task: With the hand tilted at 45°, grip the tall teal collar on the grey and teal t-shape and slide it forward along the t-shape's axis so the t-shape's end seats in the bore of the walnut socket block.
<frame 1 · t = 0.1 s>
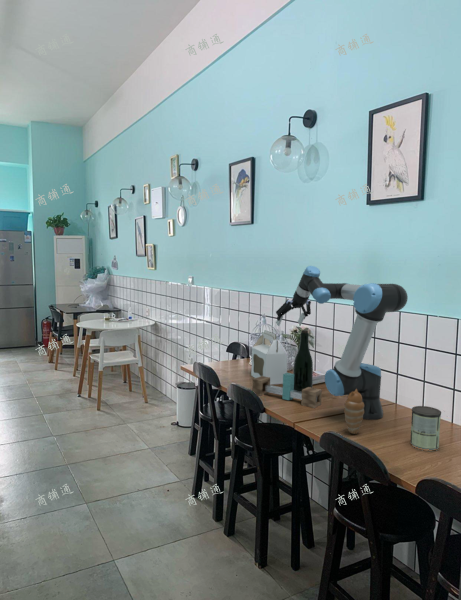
hand: (288, 323, 247), 36 cm above the table, tool tilted 35°, fingers open, 13 cm apart
gable box: (268, 379, 270), on the table
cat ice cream: (352, 434, 188), on the table
beer bottle: (302, 391, 247), on the table
grey and teal t-shape: (290, 386, 230), point 7 cm above the table, slide at 0.0 cm
socket block: (261, 393, 241), on the table
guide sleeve: (311, 404, 224), on the table
coffee can: (424, 446, 177), on the table
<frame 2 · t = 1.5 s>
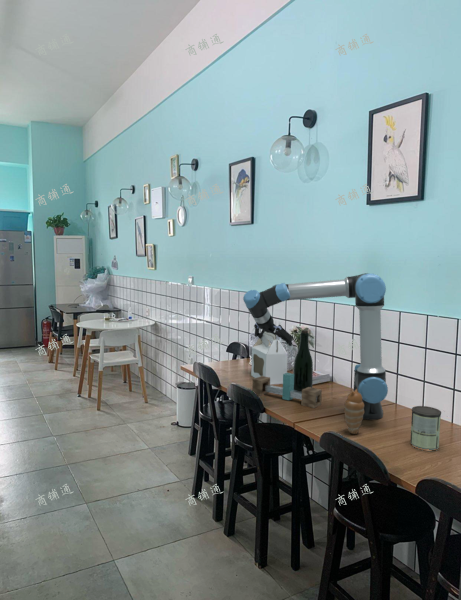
hand: (279, 347, 222), 28 cm above the table, tool tilted 45°, fingers open, 13 cm apart
nothing on the table moved.
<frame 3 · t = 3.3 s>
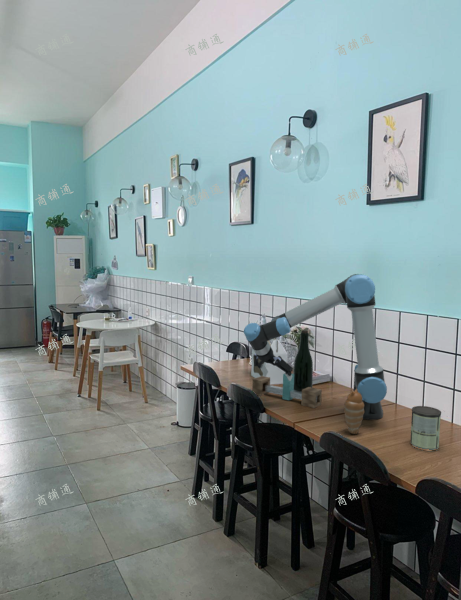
hand: (278, 376, 224), 13 cm above the table, tool tilted 45°, fingers open, 13 cm apart
nothing on the table moved.
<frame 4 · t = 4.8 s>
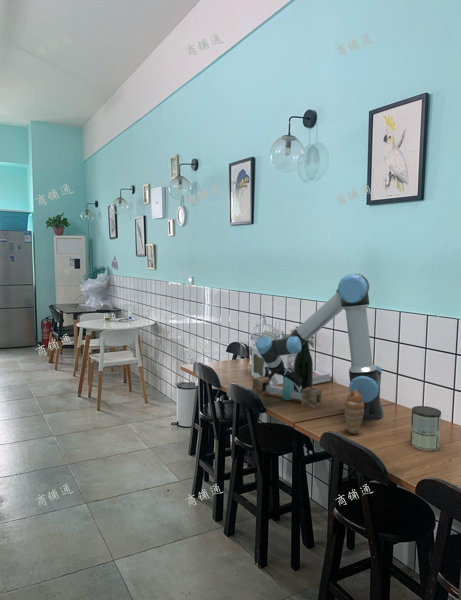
hand: (288, 386, 232), 6 cm above the table, tool tilted 45°, fingers open, 13 cm apart
grey and teal t-shape: (290, 386, 230), point 7 cm above the table, slide at 0.0 cm, touching gripper
everything else where it was.
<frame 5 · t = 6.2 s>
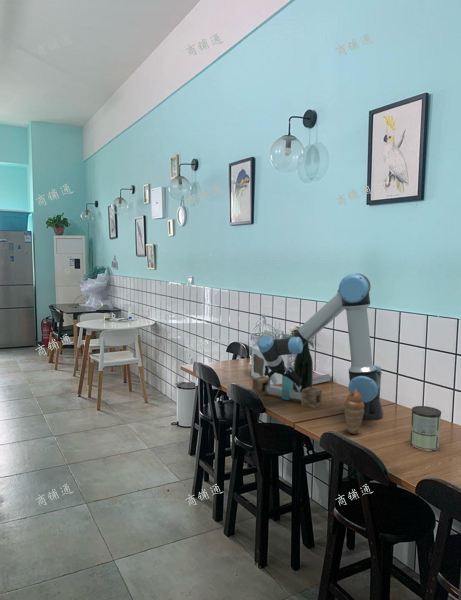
hand: (287, 386, 233), 6 cm above the table, tool tilted 45°, fingers open, 13 cm apart
grey and teal t-shape: (290, 386, 231), point 7 cm above the table, slide at 0.5 cm, touching gripper
everything else where it was.
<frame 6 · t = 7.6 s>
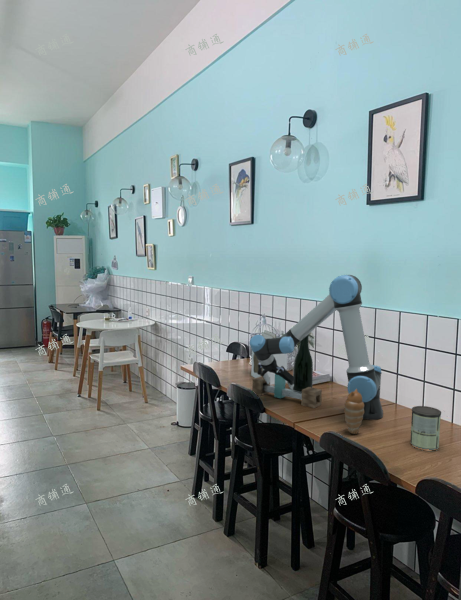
hand: (280, 384, 236), 6 cm above the table, tool tilted 45°, fingers open, 13 cm apart
grey and teal t-shape: (282, 385, 233), point 7 cm above the table, slide at 4.8 cm, touching gripper
everything else where it was.
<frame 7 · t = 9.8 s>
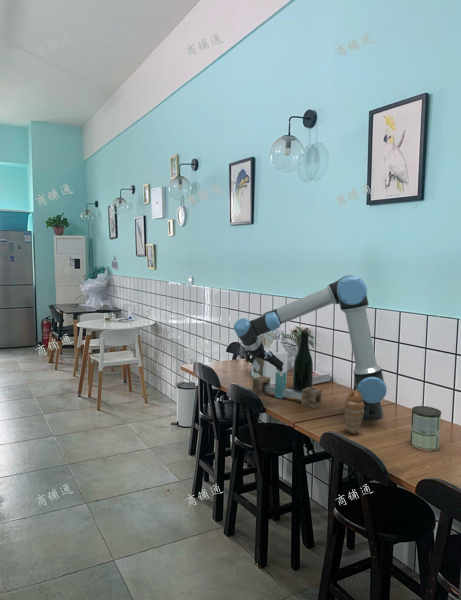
hand: (270, 371, 225), 15 cm above the table, tool tilted 45°, fingers open, 13 cm apart
grey and teal t-shape: (283, 385, 233), point 7 cm above the table, slide at 4.4 cm
everything else where it was.
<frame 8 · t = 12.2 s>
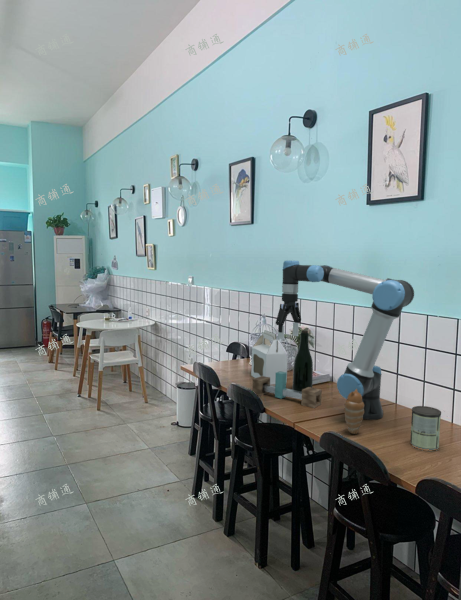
hand: (288, 337, 221), 33 cm above the table, tool pointing down, fingers open, 13 cm apart
nothing on the table moved.
at the end: grey and teal t-shape slide at 4.4 cm; the gripper is holding nothing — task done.
